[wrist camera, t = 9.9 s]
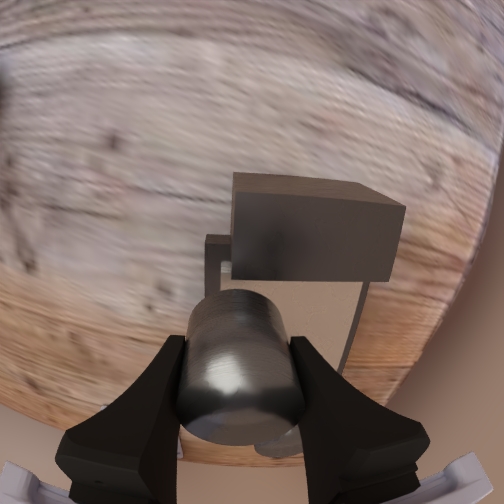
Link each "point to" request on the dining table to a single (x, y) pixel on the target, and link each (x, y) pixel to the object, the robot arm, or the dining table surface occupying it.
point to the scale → (307, 252)
